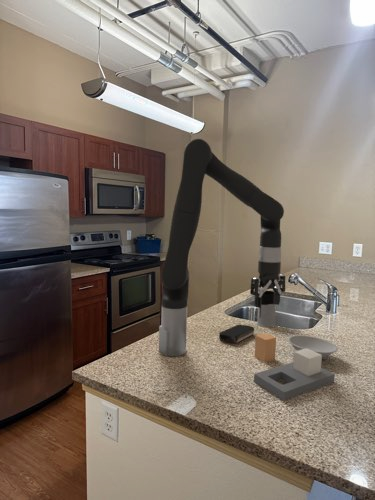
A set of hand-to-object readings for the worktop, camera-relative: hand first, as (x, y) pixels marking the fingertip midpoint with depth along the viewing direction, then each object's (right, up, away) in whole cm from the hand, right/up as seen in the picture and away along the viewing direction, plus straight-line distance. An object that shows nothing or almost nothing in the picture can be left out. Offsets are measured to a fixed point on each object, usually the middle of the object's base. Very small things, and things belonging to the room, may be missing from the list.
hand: (267, 305), depth 119 cm
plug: (0, -19, +2) cm, 19 cm away
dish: (+17, -19, +5) cm, 26 cm away
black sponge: (-8, -17, +22) cm, 29 cm away
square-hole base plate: (+5, -21, -14) cm, 26 cm away
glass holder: (+6, -15, +38) cm, 42 cm away
